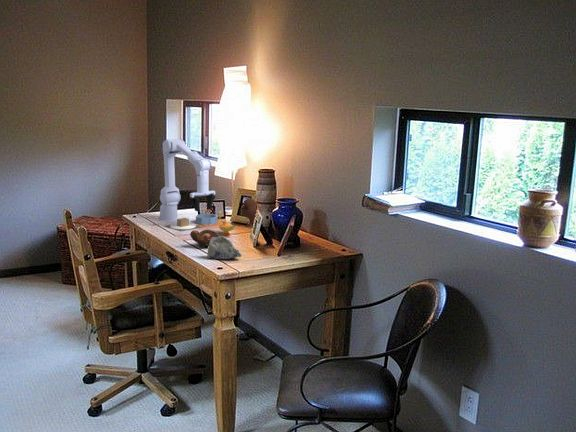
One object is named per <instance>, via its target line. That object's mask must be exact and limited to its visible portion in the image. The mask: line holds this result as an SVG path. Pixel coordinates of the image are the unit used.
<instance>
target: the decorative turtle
mask: <svg viewBox="0 0 576 432" xmlns="http://www.w3.org/2000/svg"><path fill="white" fill-rule="evenodd" d="M189 236H190V238H191V239H192V240H193V241H194V242H196V244H197V245H198V246H199V248H200V249H204V247H205V246H207V247H208V246H209V243H210V241H211V238H212V237H218V236H220V234H219V233H218V232H216V231H214V230H212V229H203V230H201V231H198V230H197V229H193V230H191V232H190V235H189Z"/></svg>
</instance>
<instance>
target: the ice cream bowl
mask: <svg viewBox="0 0 576 432" xmlns="http://www.w3.org/2000/svg"><path fill="white" fill-rule="evenodd" d="M256 203H257V202H256V201H255V199H253V198H249V197H248V198H246V199H245V200H244V201H243V207H241V208H240V211H241V213H242V215H243V216H244V218H246V219H248V220H249V223H247V224H246V225H245V227H246V228H253V227H252V223H253V224H254V219H255V218H254V217H255V214H256Z"/></svg>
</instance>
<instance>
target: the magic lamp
mask: <svg viewBox="0 0 576 432" xmlns="http://www.w3.org/2000/svg"><path fill="white" fill-rule="evenodd" d="M218 213H219V216H218V220H219V222H220V223H219V224H221V225H219V227H218V228H219V230H221V231H222V232H223V233H220V236H223V237H225V236H226V237H229V236H230V237H231V236H232V233H231V231H233V230H235V228H237V227H238V226H239V225H238V224H235V225H233V224H230V223H228V221H227V219H224V220H222V217H221V215H222V214H223V211H221V210H219V211H218Z"/></svg>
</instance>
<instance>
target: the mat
mask: <svg viewBox="0 0 576 432" xmlns="http://www.w3.org/2000/svg"><path fill="white" fill-rule="evenodd" d="M170 225H171V224H167V225H163V228H164V227H165V228H168V229H170V230H174V231H178V232H185V231H193V230H197V229H201V228H204V227H203V226H201V225H198V224H197V225H196V224H195V225H196V227H195V228H193V229H186V230H179V229H172V228H170Z"/></svg>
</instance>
